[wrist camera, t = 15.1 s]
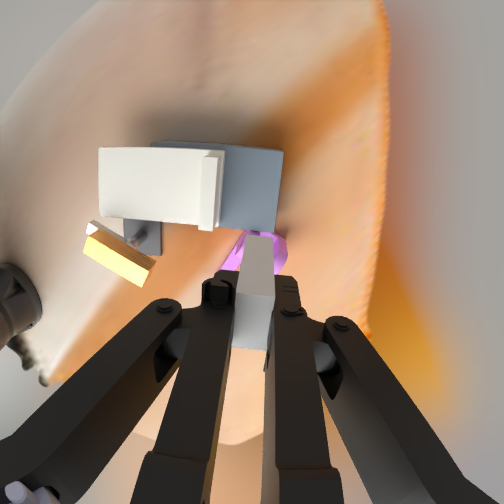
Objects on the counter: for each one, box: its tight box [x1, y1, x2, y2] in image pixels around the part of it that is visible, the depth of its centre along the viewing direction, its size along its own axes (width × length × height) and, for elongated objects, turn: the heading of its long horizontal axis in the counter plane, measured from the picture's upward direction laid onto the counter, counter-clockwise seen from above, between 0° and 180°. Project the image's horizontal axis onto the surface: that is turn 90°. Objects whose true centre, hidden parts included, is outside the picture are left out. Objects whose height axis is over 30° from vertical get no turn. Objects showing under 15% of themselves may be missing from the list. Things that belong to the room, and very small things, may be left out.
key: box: [84, 220, 156, 287], centre depth 39 cm, size 3×11×9 cm, turn 59°
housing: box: [123, 141, 284, 256], centre depth 39 cm, size 22×17×5 cm
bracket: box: [218, 230, 288, 275], centre depth 42 cm, size 13×6×7 cm, turn 148°
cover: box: [98, 147, 226, 231], centre depth 34 cm, size 16×9×4 cm, turn 84°
